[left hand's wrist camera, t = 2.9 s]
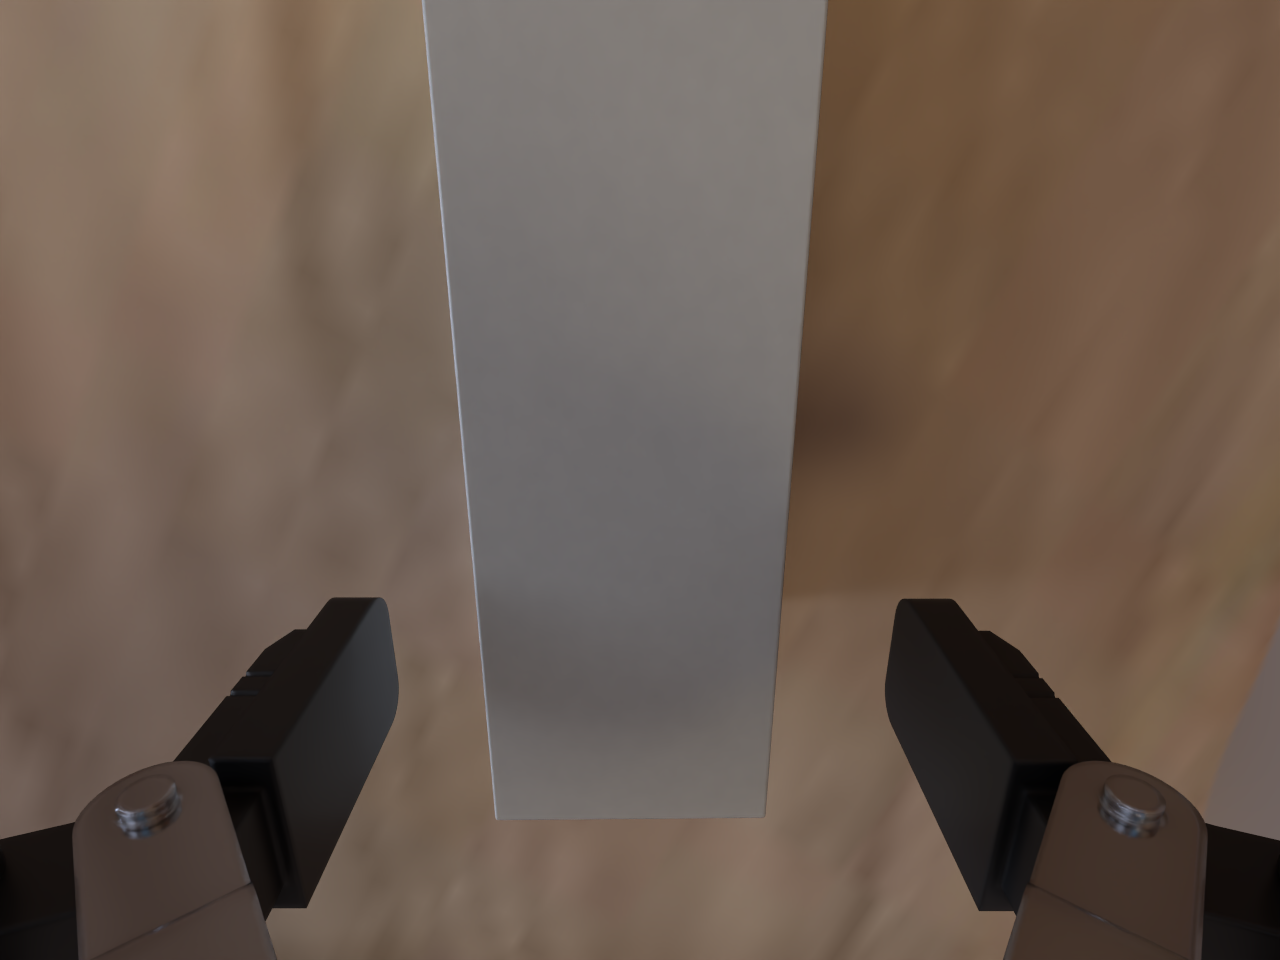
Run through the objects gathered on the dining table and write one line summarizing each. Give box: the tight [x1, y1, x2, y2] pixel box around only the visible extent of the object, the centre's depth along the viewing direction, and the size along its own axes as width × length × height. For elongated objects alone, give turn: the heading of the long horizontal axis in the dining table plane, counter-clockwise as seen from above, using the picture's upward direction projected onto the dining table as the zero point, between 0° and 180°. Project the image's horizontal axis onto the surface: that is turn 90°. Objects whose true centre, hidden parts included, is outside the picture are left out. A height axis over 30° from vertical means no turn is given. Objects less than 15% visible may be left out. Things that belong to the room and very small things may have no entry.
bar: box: [422, 0, 828, 820], centre depth 13 cm, size 28×5×8 cm, turn 0°
